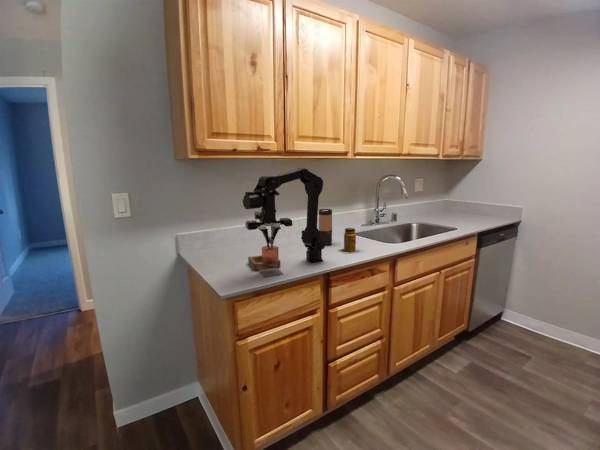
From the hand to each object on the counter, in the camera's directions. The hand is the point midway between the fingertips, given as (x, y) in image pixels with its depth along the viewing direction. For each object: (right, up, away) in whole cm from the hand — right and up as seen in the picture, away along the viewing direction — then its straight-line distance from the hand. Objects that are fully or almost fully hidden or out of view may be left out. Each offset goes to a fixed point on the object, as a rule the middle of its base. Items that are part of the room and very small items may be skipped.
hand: (269, 243), depth 131 cm
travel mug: (+27, -3, +48) cm, 55 cm away
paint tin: (0, -8, +1) cm, 8 cm away
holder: (-4, -11, +12) cm, 17 cm away
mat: (0, -13, +2) cm, 13 cm away
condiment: (+38, -6, +34) cm, 51 cm away
